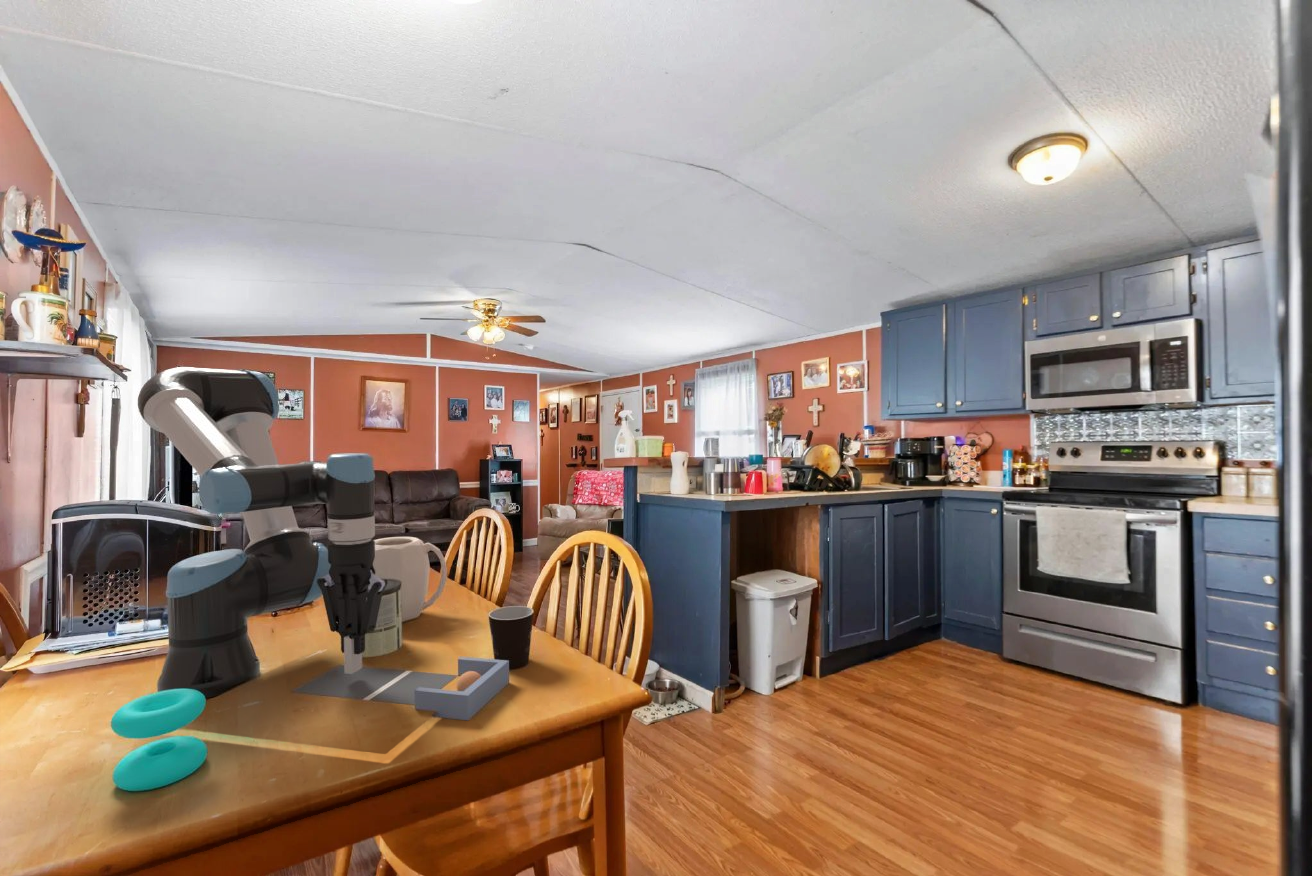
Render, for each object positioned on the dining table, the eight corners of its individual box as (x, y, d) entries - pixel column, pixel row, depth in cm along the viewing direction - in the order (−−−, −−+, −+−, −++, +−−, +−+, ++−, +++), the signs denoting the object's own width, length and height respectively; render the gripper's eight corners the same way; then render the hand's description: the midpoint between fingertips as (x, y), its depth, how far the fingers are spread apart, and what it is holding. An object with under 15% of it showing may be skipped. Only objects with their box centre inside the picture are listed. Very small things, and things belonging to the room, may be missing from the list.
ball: (468, 672, 103) (480, 695, 103) (480, 663, 107) (492, 685, 107) (447, 683, 104) (459, 707, 103) (460, 674, 108) (471, 696, 108)
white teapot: (340, 612, 154) (338, 537, 153) (451, 604, 159) (450, 532, 158) (319, 633, 138) (316, 549, 138) (443, 624, 144) (441, 544, 143)
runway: (290, 697, 106) (290, 691, 106) (340, 669, 118) (340, 664, 118) (419, 711, 101) (419, 705, 101) (458, 680, 112) (458, 675, 112)
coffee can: (338, 654, 126) (337, 586, 125) (387, 640, 134) (386, 575, 133) (362, 666, 119) (360, 594, 119) (412, 651, 127) (411, 583, 127)
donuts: (223, 686, 87) (155, 721, 77) (225, 756, 88) (158, 799, 78) (162, 682, 89) (89, 715, 79) (165, 750, 89) (92, 792, 79)
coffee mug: (523, 673, 115) (522, 620, 115) (481, 670, 117) (480, 618, 117) (546, 650, 127) (546, 602, 126) (507, 647, 128) (507, 600, 128)
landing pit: (414, 714, 99) (414, 690, 99) (461, 677, 113) (461, 656, 113) (468, 720, 97) (467, 695, 97) (509, 682, 111) (508, 660, 111)
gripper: (304, 542, 107) (306, 675, 108) (369, 546, 104) (371, 683, 105) (335, 534, 114) (337, 659, 115) (397, 537, 112) (398, 665, 113)
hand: (353, 670), depth 110 cm, fingers closed
